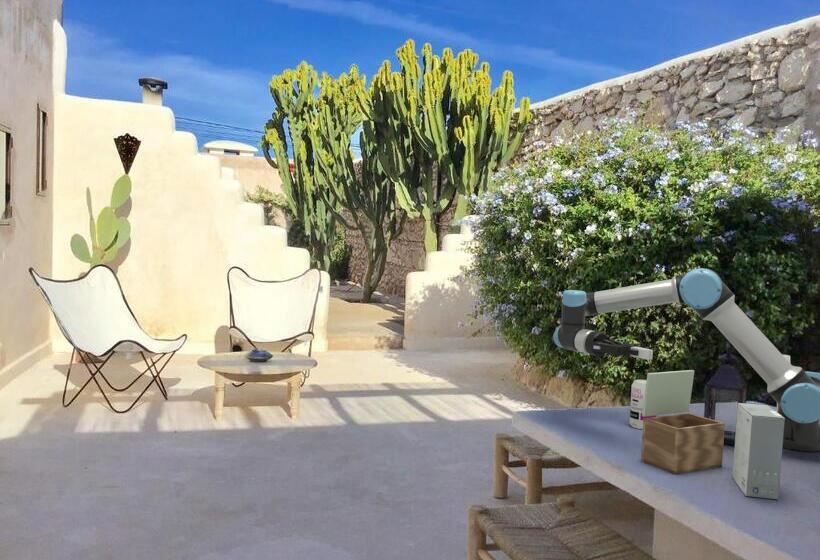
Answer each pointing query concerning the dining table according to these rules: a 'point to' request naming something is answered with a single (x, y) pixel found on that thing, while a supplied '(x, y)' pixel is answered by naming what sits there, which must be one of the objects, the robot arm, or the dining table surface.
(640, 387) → the supplement can
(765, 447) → the hard drive box
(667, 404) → the lid
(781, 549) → the dining table surface
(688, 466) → the crate
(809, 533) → the dining table surface
